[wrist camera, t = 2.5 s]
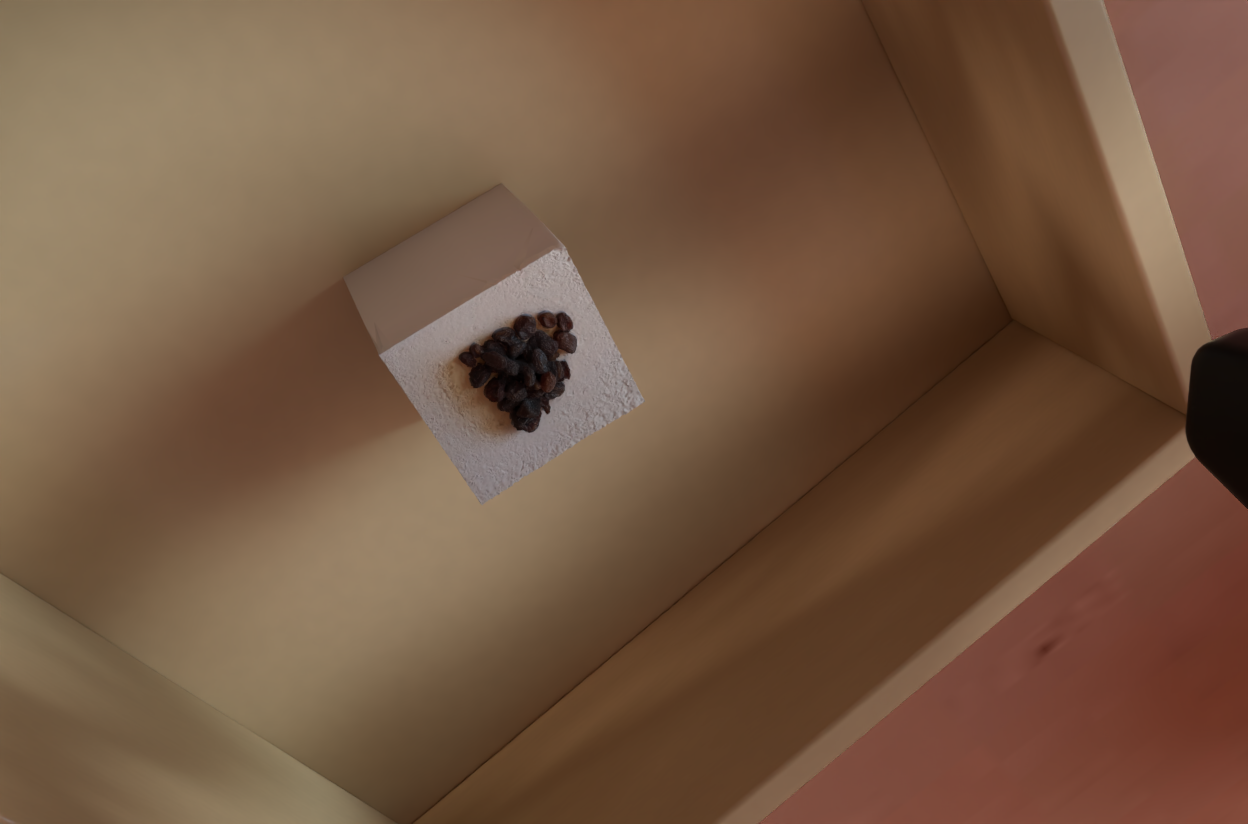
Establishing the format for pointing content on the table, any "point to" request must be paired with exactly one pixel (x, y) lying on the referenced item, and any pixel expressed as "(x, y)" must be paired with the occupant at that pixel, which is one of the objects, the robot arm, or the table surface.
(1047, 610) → the table surface
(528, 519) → the wooden box
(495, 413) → the cube with brown bumps
